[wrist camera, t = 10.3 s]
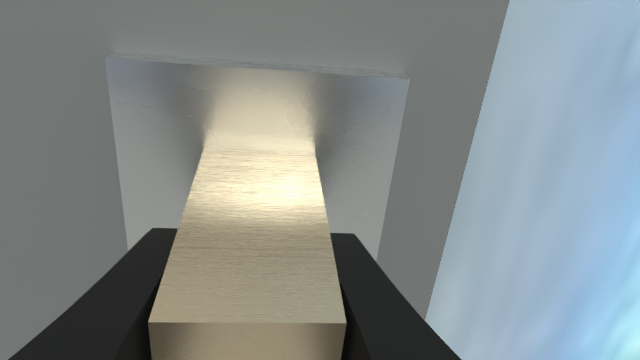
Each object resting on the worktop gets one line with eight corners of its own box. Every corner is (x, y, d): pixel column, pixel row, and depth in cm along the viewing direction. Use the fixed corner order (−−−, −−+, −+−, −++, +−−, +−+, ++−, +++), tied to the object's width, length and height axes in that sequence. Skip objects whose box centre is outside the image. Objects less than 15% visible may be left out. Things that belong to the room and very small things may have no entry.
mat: (-174, 533, 17) (-186, 548, 16) (-661, -120, 8) (-718, -123, 7) (368, 509, 19) (371, 522, 19) (500, -9, 10) (511, -7, 10)
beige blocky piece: (139, 282, 12) (49, 521, 7) (114, 50, 9) (-59, 184, 5) (365, 285, 13) (420, 504, 8) (402, 71, 10) (524, 204, 5)
